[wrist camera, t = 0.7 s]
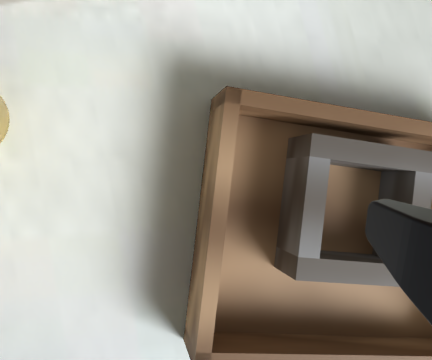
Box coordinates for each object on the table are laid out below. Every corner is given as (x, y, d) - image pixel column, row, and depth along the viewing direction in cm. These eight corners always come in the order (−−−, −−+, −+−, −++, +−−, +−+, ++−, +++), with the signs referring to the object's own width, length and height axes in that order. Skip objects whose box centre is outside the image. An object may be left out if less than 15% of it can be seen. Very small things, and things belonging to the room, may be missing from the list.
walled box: (431, 345, 26) (481, 373, 23) (183, 339, 23) (194, 372, 19) (454, 139, 27) (507, 134, 23) (211, 99, 23) (228, 84, 19)
